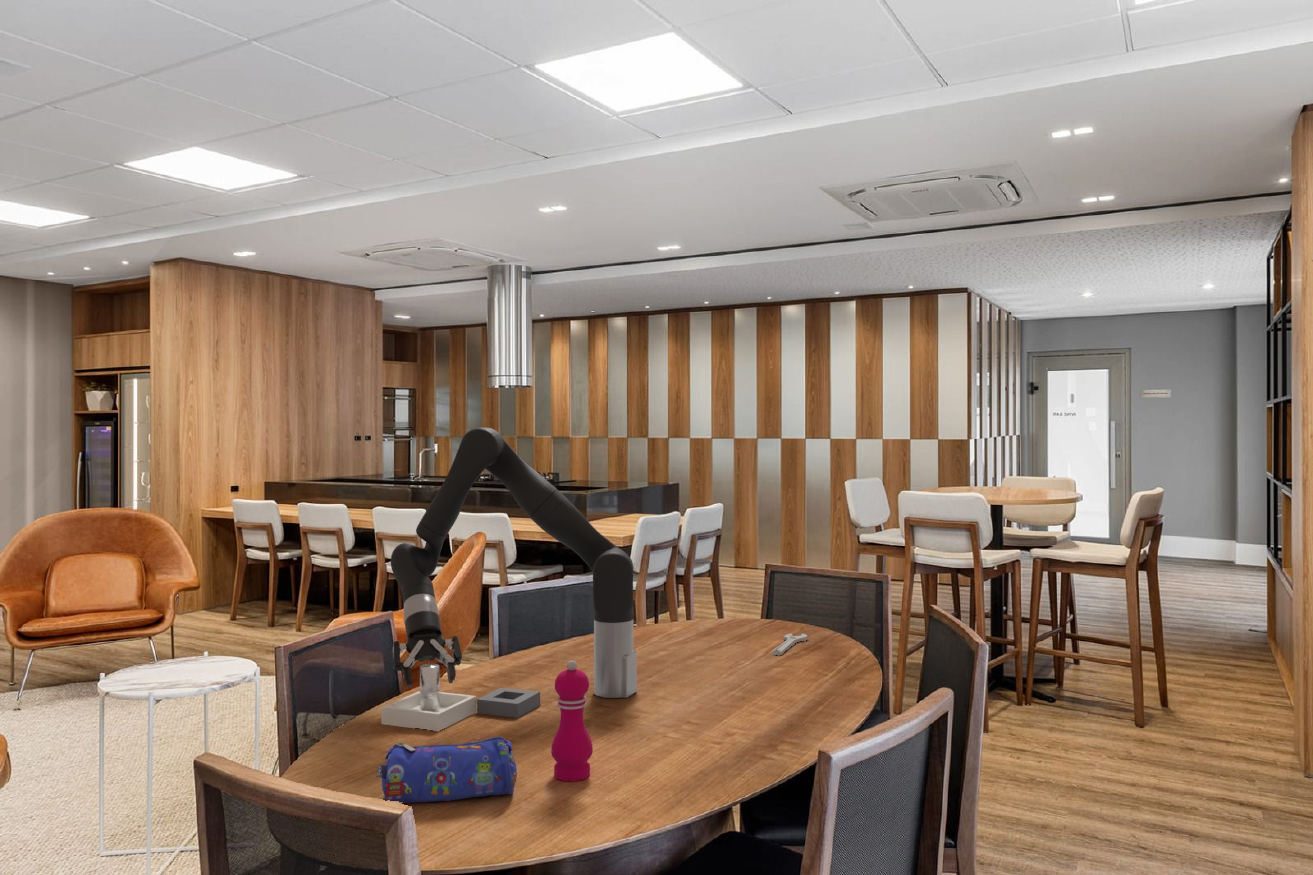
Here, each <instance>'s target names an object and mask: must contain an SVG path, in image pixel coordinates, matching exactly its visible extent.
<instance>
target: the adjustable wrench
mask: <svg viewBox="0 0 1313 875" xmlns="http://www.w3.org/2000/svg"><path fill="white" fill-rule="evenodd" d="M783 639H784V640H786V641H784V640H783ZM783 639H782V640H783V641H784V642H782V643H780V644H779V645H778V646H777V647H775V648H773V649H772V651H771V656H774V655H781V656H782V655H784V654H785V653H786V652H787V651H789V649H790V647H791V646H792V647H793V646H794V645H796V644H797V643H796V642H799V641H804V642H807V641H808V635H807V634H805V633H801V634H800V635H793V633H787V634H786V635H785V634H784V635H783ZM806 640H807V641H806ZM795 643H796V644H795ZM799 643H800V642H799ZM792 647H791V648H792ZM786 650H787V651H786ZM785 651H786V652H785ZM784 652H785V653H784Z"/></svg>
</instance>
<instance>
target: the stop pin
mask: <svg viewBox="0 0 1313 875" xmlns="http://www.w3.org/2000/svg"><path fill="white" fill-rule="evenodd" d="M419 691H420V710H422V711H430V712H439V692H440V664H438V663H425V664H422V665H420V666H419Z"/></svg>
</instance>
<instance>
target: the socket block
mask: <svg viewBox="0 0 1313 875" xmlns="http://www.w3.org/2000/svg"><path fill="white" fill-rule="evenodd" d="M539 706H541V691H537V690H528V689H527V690H526V689H519V688H512V687H511V688H509V687H500V688H497V689H495V690H493V691H492V692H489V693H487V694H485V695H482V696H481V697H478V698H476V713H477V714H481V715H482V714H483V715H490V716H497V717H505V718H514V719H518V718H521V717H522V716H524V715H525V714H527V713H530V712H531V711H532V710H535V709H536V708H538V707H539Z"/></svg>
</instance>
